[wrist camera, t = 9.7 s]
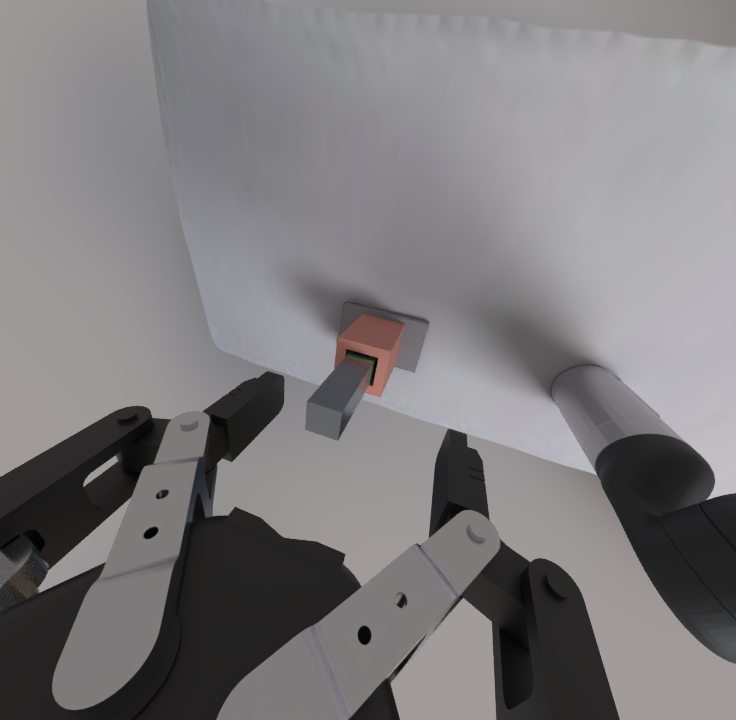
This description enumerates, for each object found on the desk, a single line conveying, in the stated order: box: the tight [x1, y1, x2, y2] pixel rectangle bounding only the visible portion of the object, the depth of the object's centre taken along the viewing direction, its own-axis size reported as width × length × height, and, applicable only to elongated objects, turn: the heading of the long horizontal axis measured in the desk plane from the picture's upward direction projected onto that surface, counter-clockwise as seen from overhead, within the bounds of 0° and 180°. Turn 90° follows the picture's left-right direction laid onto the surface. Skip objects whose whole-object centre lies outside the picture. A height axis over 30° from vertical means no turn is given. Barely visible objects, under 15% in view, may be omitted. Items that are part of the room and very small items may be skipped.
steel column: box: [305, 350, 378, 441], centre depth 37 cm, size 4×4×18 cm
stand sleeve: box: [334, 302, 429, 397], centre depth 46 cm, size 16×10×15 cm, turn 80°
